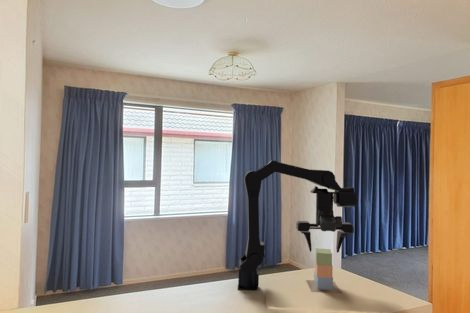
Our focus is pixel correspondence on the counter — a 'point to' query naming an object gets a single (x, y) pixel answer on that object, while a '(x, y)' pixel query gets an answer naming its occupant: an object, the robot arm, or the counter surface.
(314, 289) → the walnut board
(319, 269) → the terracotta brick
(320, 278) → the base brick
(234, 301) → the counter surface
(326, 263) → the olive brick
